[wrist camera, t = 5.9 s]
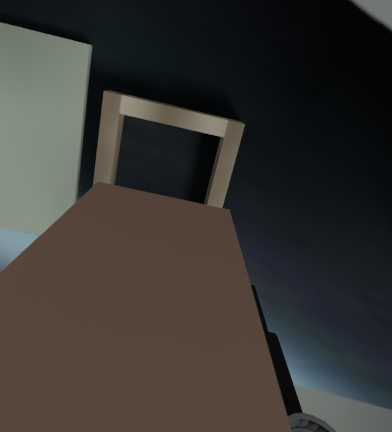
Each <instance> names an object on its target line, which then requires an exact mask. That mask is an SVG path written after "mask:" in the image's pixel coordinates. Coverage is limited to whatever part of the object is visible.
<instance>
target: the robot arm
mask: <svg viewBox="0 0 392 432" xmlns="http://www.w3.org/2000/svg"><path fill="white" fill-rule="evenodd" d="M251 288H252V292H253V295H254V299H255V303H256V306H257V310H258V313H259V317H260V320H261V324H262V327H263V331H264V335H265V338H266V342H267V345H268V349H269V352H270V356H271V359H272V363H273V367H274V370H275V374H276V377H277V381H278V384H279V388H280V391H281V395H282V399H283V402H284V406H285V409H286V413H287V416H288V420H289V424H290V427H291V431H292V432H336V431H335V430H334V429H333V428H332V427H331V426H329V425H328V424H327V423H326V422H325V421H323V420H321V419H319V418H317V417H315V416H313V415H309V414H306V413H303V412H302V409H301V406H300V403H299V400H298V397H297V394H296V391H295V388H294V385H293V382H292V379H291V376H290V373H289V370H288V367H287V364H286V361H285V358H284V355H283V352H282V349H281V346H280V343H279V340H278V337H277V335H276V334H275V333H272V332H268V329H267V325H266V322H265V319H264V315H263V312H262V309H261V305H260V302H259V299H258V295H257V292H256V289H255V286H254V285H251Z"/></svg>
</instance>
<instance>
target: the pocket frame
mask: <svg viewBox="0 0 392 432" xmlns="http://www.w3.org/2000/svg"><path fill="white" fill-rule="evenodd" d="M124 115H129V116H133V117H137V118H142V119H146V120H150V121H155V122H159V123H163V124H168V125H172V126H176V127H181V128H185V129H189V130H194V131H198V132H202V133H207V134H211V135H215V136H220V141H219V145H218V149H217V153H216V157H215V161H214V165H213V169H212V173H211V177H210V181H209V186H208V190H207V194H206V198H205V202H204V204H205V205H210V206H214V207H219V208H222V207H223V203H224V200H225V196H226V192H227V188H228V185H229V181H230V177H231V174H232V170H233V166H234V163H235V159H236V155H237V152H238V148H239V144H240V141H241V137H242V133H243V130H244V126H245V124H244V123H242V122H241V121H237V120H233V119H228V118H224V117H220V116H216V115H211V114H207V113H203V112H199V111H195V110H190V109H186V108H182V107H178V106H173V105H169V104H165V103H161V102H157V101H152V100H148V99H144V98H140V97H135V96H131V95H127V94H123V93H119V92H114V91H104V94H103V102H102V111H101V120H100V128H99V137H98V146H97V154H96V163H95V172H94V181H93V186H94V185H95V184H96V183H97V182H102V183H107V184H111V185H115V177H116V170H117V163H118V156H119V149H120V142H121V135H122V127H123V120H124Z"/></svg>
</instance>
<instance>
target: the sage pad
mask: <svg viewBox="0 0 392 432" xmlns="http://www.w3.org/2000/svg"><path fill="white" fill-rule="evenodd" d="M91 53H92V45H89V44H85V43H81V42H77V41H73V40H69V39H65V38H61V37H57V36H53V35H49V34H45V33H41V32H37V31H33V30H29V29H25V28H21V27H17V26H13V25H9V24H5V23H1V22H0V228H4V229H10V230H15V231H20V232H26V233H31V234H36V235H41V234H42V233H44V232H45V231H46V230H47V229H48V228H49V227H50V226H51V225H52V224H53V223H54V222H55V221H56V220H58V219H59V218H60V217H61V216H62V215H63V214H64V213H65V212H66V211H67V210H68V209H69V208H70V207H71V206H73V205H74V204H75V203H76V202H77V195H78V185H79V175H80V165H81V155H82V144H83V134H84V124H85V114H86V104H87V94H88V83H89V73H90V63H91Z"/></svg>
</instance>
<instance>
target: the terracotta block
mask: <svg viewBox="0 0 392 432" xmlns="http://www.w3.org/2000/svg"><path fill="white" fill-rule="evenodd" d="M0 432H292V431H291V427H290V424H289V420H288V416H287V413H286V409H285V406H284V402H283V399H282V395H281V391H280V388H279V384H278V381H277V377H276V374H275V370H274V367H273V363H272V359H271V356H270V352H269V349H268V345H267V342H266V338H265V335H264V331H263V327H262V324H261V320H260V317H259V313H258V310H257V306H256V303H255V299H254V295H253V292H252V288H251V285H250V281H249V278H248V274H247V270H246V267H245V263H244V260H243V256H242V253H241V249H240V246H239V242H238V238H237V235H236V231H235V228H234V224H233V221H232V217H231V214H230V210H228V209H224V208H219V207H214V206H210V205H205V204H200V203H196V202H191V201H186V200H181V199H177V198H172V197H167V196H163V195H158V194H153V193H149V192H144V191H139V190H135V189H130V188H125V187H121V186H116V185H111V184H107V183H102V182H97V183H96V184H95V185H94V186H93V187H92V188H91V189H90V190H89V191H88V192H86V193H85V194H84V195H83V196H82V197H81V198H80V199H79V200H78V201H77V202H76V203H75V204H74V205H73V206H71V207H70V208H69V209H68V210H67V211H66V212H65V213H64V214H63V215H62V216H61V217H60V218H59V219H58V220H56V221H55V222H54V223H53V224H52V225H51V226H50V227H49V228H48V229H47V230H46V231H45V232H44V233H42V234H41V235H40V236H39V237H38V238H37V239H36V240H35V241H34V242H33V243H32V244H31V245H30V246H29V247H27V248H26V249H25V250H24V251H23V252H22V253H21V254H20V255H19V256H18V257H17V258H16V259H15V260H14V261H12V262H11V263H10V264H9V265H8V266H7V267H6V268H5V269H4V270H3V271H2V272H1V273H0Z"/></svg>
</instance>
